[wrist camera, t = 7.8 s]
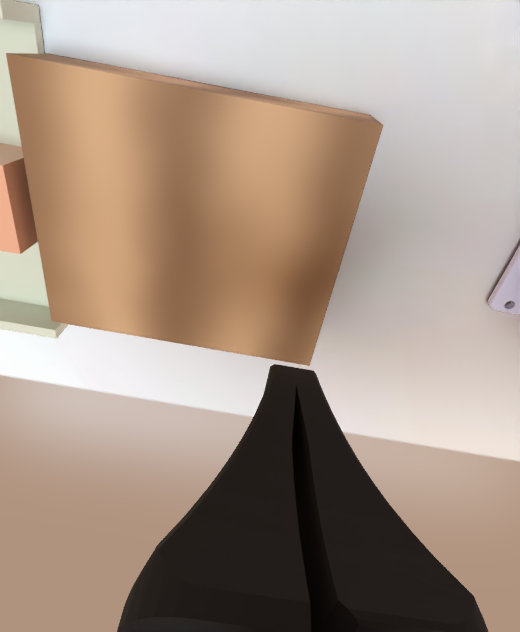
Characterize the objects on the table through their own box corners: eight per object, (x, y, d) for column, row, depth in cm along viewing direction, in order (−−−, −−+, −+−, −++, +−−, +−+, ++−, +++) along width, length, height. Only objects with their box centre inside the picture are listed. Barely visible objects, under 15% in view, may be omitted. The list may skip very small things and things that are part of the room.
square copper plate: (370, 115, 17) (383, 125, 15) (307, 333, 24) (309, 365, 21) (49, 54, 17) (5, 53, 14) (77, 293, 23) (51, 321, 21)
